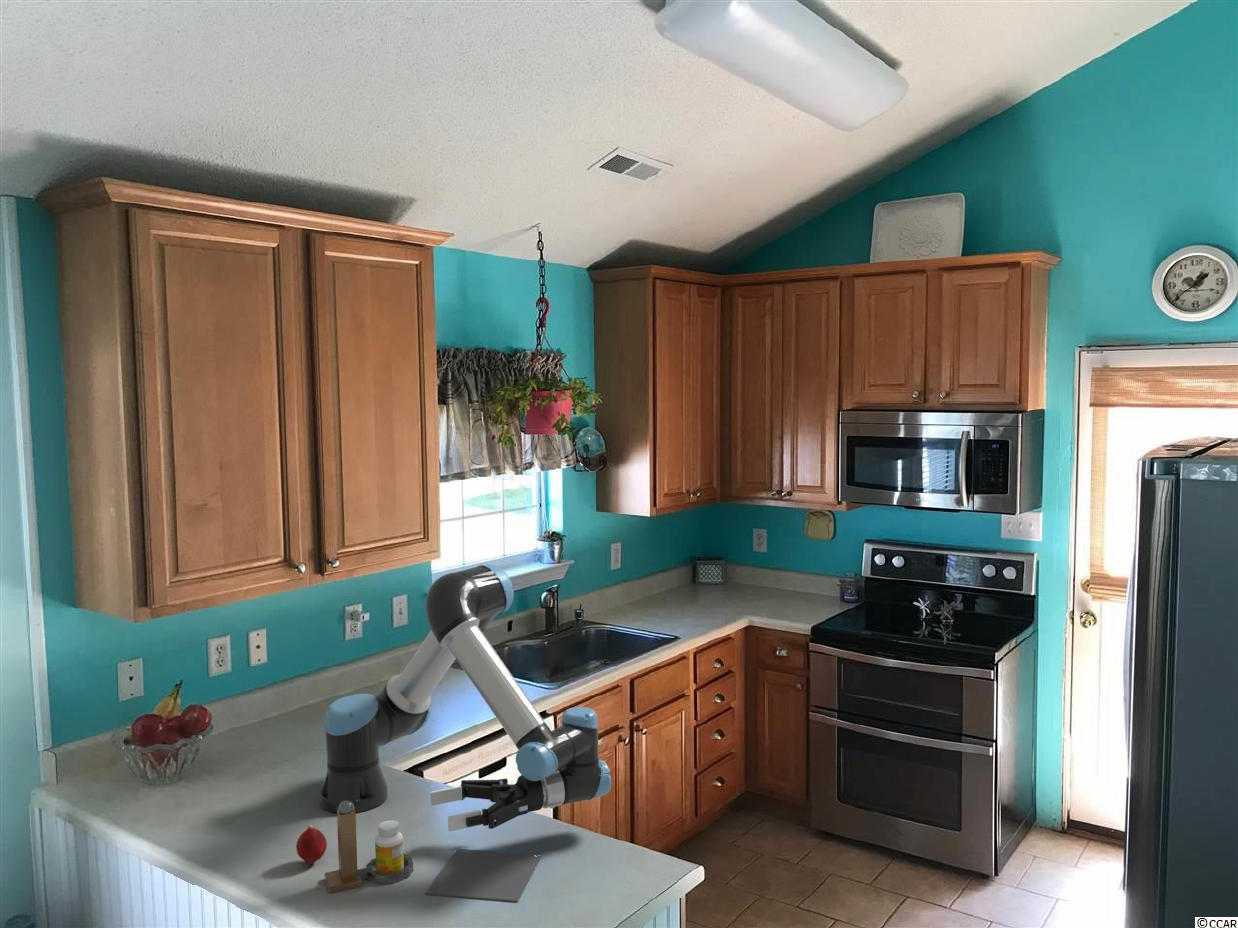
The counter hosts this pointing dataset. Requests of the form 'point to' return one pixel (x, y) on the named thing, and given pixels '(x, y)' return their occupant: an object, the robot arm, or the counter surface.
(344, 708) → the robot arm
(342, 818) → the ring stand
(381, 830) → the supplement bottle
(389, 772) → the counter surface
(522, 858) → the mat
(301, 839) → the onion
